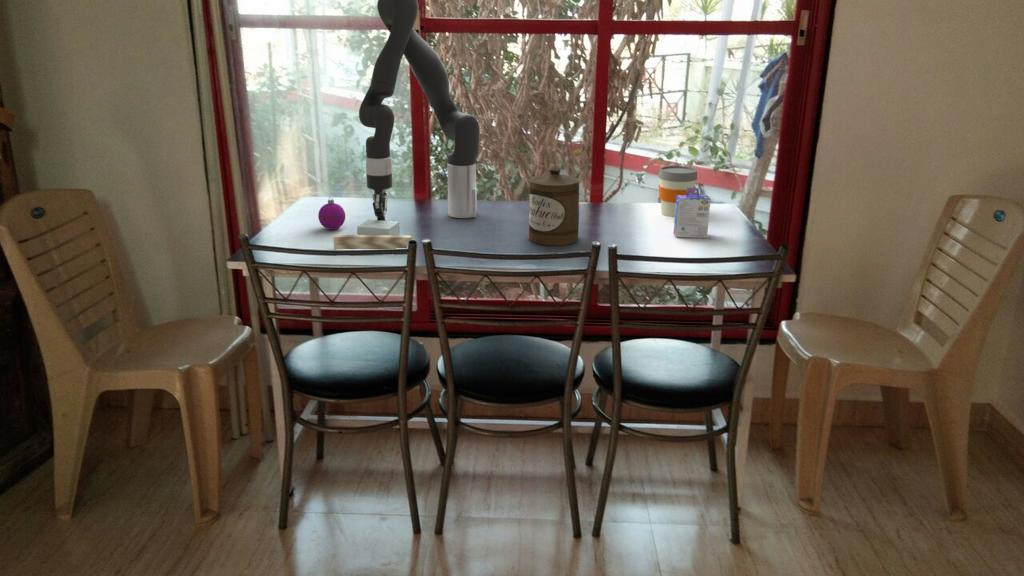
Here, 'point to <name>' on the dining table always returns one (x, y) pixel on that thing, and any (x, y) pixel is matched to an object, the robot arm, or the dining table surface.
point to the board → (371, 241)
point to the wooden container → (554, 208)
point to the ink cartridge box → (691, 215)
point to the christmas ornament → (331, 215)
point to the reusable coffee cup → (674, 186)
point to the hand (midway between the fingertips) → (381, 227)
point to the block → (378, 228)
